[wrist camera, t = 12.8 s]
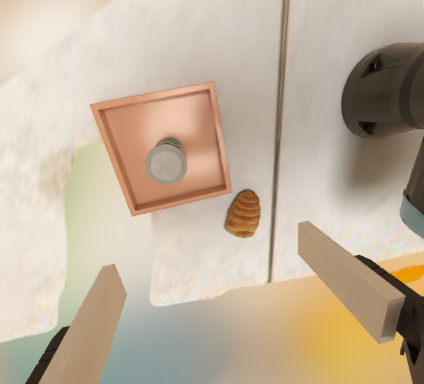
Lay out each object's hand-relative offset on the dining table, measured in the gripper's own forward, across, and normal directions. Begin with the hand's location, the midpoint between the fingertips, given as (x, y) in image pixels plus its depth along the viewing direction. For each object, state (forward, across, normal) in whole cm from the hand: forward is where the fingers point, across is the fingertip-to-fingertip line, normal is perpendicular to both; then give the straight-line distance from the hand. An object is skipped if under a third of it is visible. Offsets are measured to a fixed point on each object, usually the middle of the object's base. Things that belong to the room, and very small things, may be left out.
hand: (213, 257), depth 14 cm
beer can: (+23, +3, -5) cm, 24 cm away
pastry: (+24, -8, +10) cm, 28 cm away
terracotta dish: (+24, +3, -5) cm, 24 cm away
